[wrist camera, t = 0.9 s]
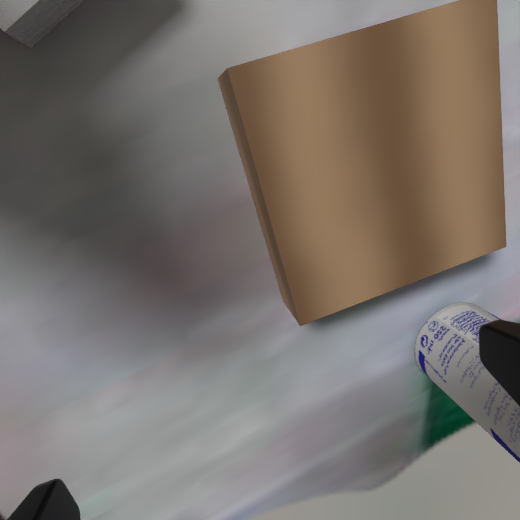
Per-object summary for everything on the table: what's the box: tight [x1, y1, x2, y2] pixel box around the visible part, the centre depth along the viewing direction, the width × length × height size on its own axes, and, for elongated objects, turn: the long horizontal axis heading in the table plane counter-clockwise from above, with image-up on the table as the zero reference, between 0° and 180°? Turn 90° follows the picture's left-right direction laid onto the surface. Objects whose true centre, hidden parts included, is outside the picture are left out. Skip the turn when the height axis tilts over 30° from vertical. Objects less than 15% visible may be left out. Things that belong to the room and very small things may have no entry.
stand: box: [218, 0, 506, 326], centre depth 19 cm, size 12×12×3 cm
